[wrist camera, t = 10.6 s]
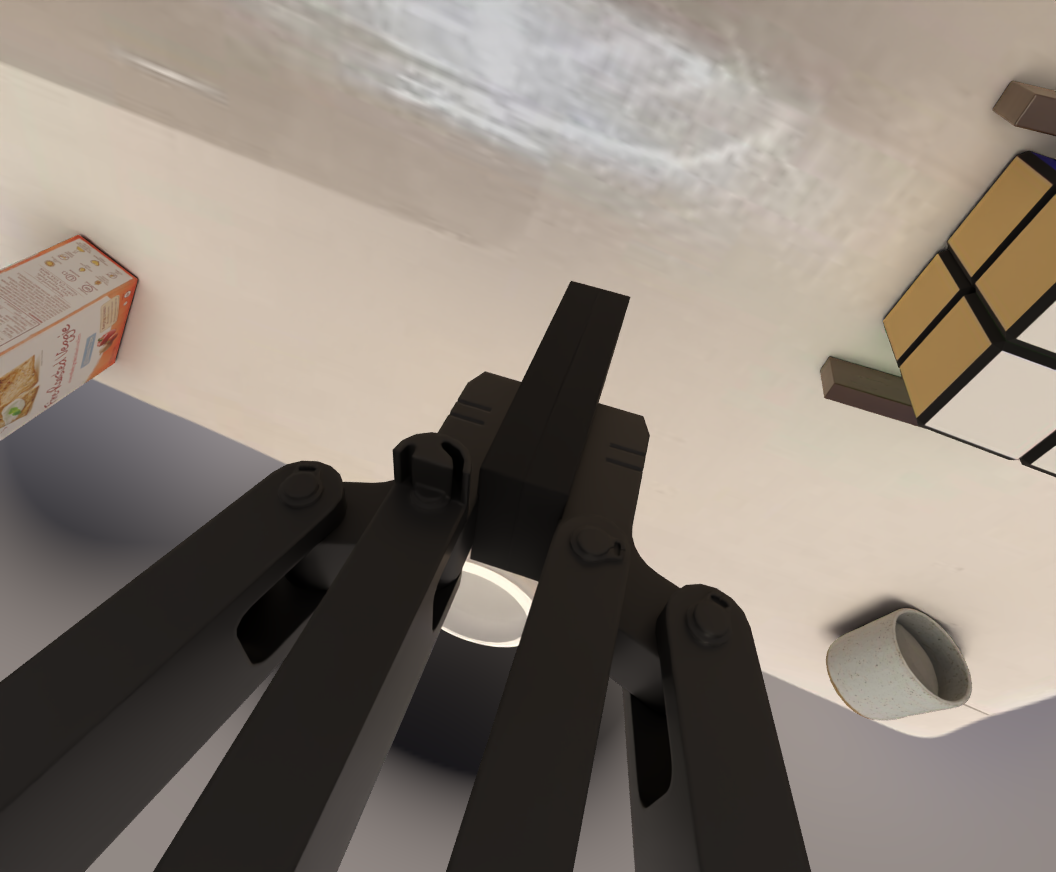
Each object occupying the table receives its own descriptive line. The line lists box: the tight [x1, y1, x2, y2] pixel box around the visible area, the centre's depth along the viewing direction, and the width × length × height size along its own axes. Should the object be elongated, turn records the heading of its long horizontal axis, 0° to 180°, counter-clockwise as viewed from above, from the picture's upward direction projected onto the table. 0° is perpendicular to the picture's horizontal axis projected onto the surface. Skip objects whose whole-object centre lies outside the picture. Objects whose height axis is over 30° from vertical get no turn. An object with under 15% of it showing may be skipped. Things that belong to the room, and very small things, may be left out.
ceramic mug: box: [826, 608, 972, 720], centre depth 47 cm, size 11×8×8 cm
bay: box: [820, 81, 1056, 429], centre depth 29 cm, size 16×13×3 cm
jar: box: [441, 550, 538, 647], centre depth 44 cm, size 11×10×15 cm
